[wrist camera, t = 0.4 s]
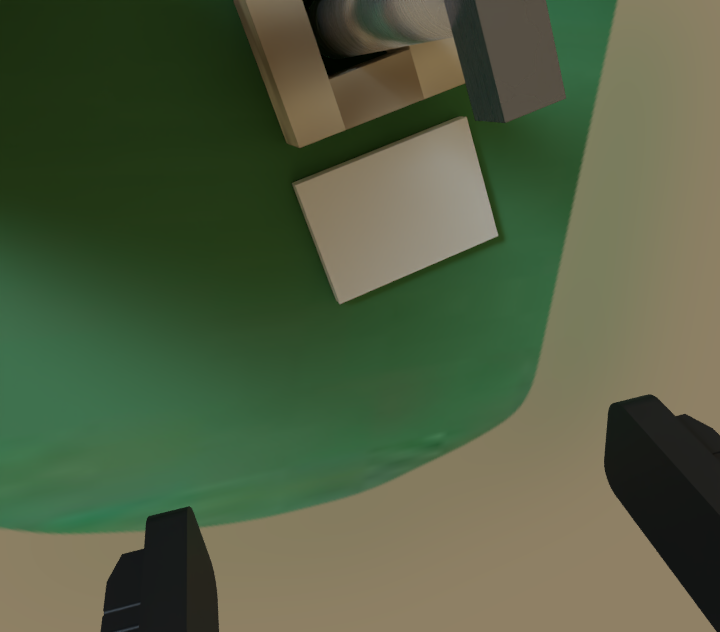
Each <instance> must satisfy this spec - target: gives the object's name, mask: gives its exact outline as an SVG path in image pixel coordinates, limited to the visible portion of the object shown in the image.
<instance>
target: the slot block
mask: <svg viewBox="0 0 720 632" xmlns="http://www.w3.org/2000/svg"><path fill="white" fill-rule="evenodd" d="M233 1H234V4H235V6H236V9H237V12H238V14H239V17H240V20H241V22H242V25H243V28H244V30H245V33H246V36H247V38H248V41H249V44H250V46H251V49H252V52H253V54H254V57H255V60H256V62H257V65H258V68H259V70H260V73H261V76H262V79H263V81H264V84H265V87H266V89H267V92H268V95H269V97H270V100H271V103H272V105H273V108H274V111H275V113H276V116H277V119H278V121H279V124H280V127H281V129H282V132H283V135H284V137H285V140H286V143H287V144H290V145H293V146H295V147H298V148H301V147H304V146H306V145H309V144H311V143H314V142H316V141H319V140H322V139H324V138H327V137H329V136H332V135H334V134H337V133H339V132H342V131H344V130H347V129H350V128H352V127H355V126H357V125H360V124H362V123H365V122H367V121H370V120H373V119H375V118H378V117H380V116H383V115H385V114H388V113H390V112H393V111H396V110H398V109H401V108H403V107H406V106H408V105H411V104H413V103H416V102H418V101H421V100H424V99H426V98H429V97H431V96H434V95H436V94H439V93H441V92H444V91H447V90H449V89H452V88H454V87H457V86H459V85H462V84H464V83H465V80H464V76H463V72H462V68H461V64H460V61H459V57H458V53H457V49H456V45H455V42H454V38H453V37H451V38H446V39H441V40H435V41H430V42H425V43H420V44H415V45H410V46H405V47H399V48H394V49H389V50H386V51H387V53H386V54H384V55H381V56H378V57H376V58H373V59H370V60H368V61H365V62H362V63H360V64H357V65H355V66H352V67H349V68H347V69H344V70H341V71H339V72H336V73H333V74H331V75H327V72H326V69H325V67H324V64H323V61H322V58H321V55H320V52H319V49H318V46H317V43H316V40H315V37H314V34H313V31H312V28H311V25H310V22H309V19H308V16H307V13H306V10H305V7H304V4H303V1H302V0H233Z"/></svg>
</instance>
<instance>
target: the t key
mask: <svg viewBox="0 0 720 632" xmlns="http://www.w3.org/2000/svg"><path fill="white" fill-rule="evenodd" d="M307 16H308V19H309V22H310V25H311V28H312V31H313V34H314V37H315V40H316V43H317V46H318V49H319V52H320V53H321V54H322V55H324V56H326V57H329V58H332V59H343V58H348V57H353V56H358V55H363V54H369V53H374V52H379V51H384V50H389V49H394V48H399V47H405V46H410V45H415V44H420V43H425V42H430V41H435V40H441V39H446V38H451V37H453V38H454V42H455V45H456V49H457V53H458V57H459V61H460V64H461V68H462V72H463V76H464V80H465V83H466V87H467V91H468V95H469V99H470V102H471V106H472V110H473V114H474V118H475V120H476V121H488V122H501V123H506V122H509V121H511V120H514V119H516V118H519V117H521V116H523V115H526V114H528V113H531V112H533V111H536V110H538V109H541V108H543V107H546V106H548V105H551V104H553V103H556V102H558V101H560V100H563V99H565V98H566V95H565V90H564V86H563V81H562V76H561V71H560V67H559V62H558V57H557V52H556V47H555V43H554V38H553V33H552V28H551V24H550V19H549V14H548V9H547V4H546V0H314V1H313V2H312V4H311V5H310V7H309V9H308V12H307Z"/></svg>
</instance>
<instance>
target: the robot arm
mask: <svg viewBox="0 0 720 632" xmlns="http://www.w3.org/2000/svg"><path fill="white" fill-rule="evenodd" d="M604 467H605V472H606V476H607V479H608V482H609V485H610V487H611V489H612V490H613V492H614V494H615V495H616V497H617V498H618V499H619V501H620V502H621V503H622V505H623V506H624V507H625V509H626V510H627V511H628V513H629V514H630V515H631V517H632V518H633V520H634V521H635V522H636V524H637V525H638V526H639V528H640V529H641V530H642V532H643V533H644V534H645V536H646V537H647V538H648V540H649V541H650V542H651V544H652V545H653V546H654V548H655V549H656V550H657V552H658V553H659V555H660V556H661V557H662V558H663V560H664V561H665V562H666V564H667V565H668V567H669V568H670V569H671V570H672V572H673V573H674V575H675V576H676V577H677V578H678V580H679V581H680V583H681V584H682V585H683V587H684V588H685V589H686V591H687V592H688V594H689V595H690V596H691V597H692V599H693V600H694V602H695V603H696V604H697V606H698V607H699V608H700V610H701V611H702V613H703V614H704V615H705V617H706V618H707V619H708V620H709V622H710V623H711V625H712V626H713V627H714V629H715V630H716V631H717V632H720V435H719V434H718V433H717V432H716V431H715V430H713V428H711V427H709V426H707V425H705V424H703V423H701V422H699V421H697V420H696V419H693V418H692V417H690V416H688V415H686V414H683V415H679V416H675V415H673V413H672V412H671V411H670V410H669V409H668V408H667V407H666V406H665V405H664V404H663V403H662V402H661V401H660V400H659V399H658V398H657V397H655V396H653V395H644V396H640V397H637V398H632V399H629V400H625V401H620V402H616V403H613V404H611V405H610V407H609V411H608V421H607V433H606V445H605V457H604ZM103 611H104V616H103V617H102V625H101V632H219V623H218V599H217V588H216V581H215V576H214V571H213V567H212V563H211V560H210V557H209V554H208V551H207V549H206V546H205V543H204V540H203V537H202V535H201V532H200V529H199V526H198V523H197V521H196V518H195V515H194V512H193V510H192V508H191V507H190V506H189V507H185V508H180V509H176V510H172V511H168V512H164V513H160V514H156V515H152V516H149V517H148V518H147V521H146V531H145V545H144V549H141V550H137V551H133V552H129V553H125V554H122V555H121V557H120V559H119V561H118V563H117V564H116V566H115V568H114V570H113V572H112V574H111V575H110V577H109V579H108V581H107V585H106V593H105V601H104V609H103Z"/></svg>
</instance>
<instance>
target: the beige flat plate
mask: <svg viewBox="0 0 720 632" xmlns="http://www.w3.org/2000/svg"><path fill="white" fill-rule="evenodd" d="M292 186H293V188H294V191H295V194H296V196H297V199H298V201H299V204H300V207H301V209H302V212H303V215H304V217H305V220H306V223H307V225H308V228H309V230H310V233H311V236H312V238H313V241H314V244H315V246H316V249H317V252H318V254H319V257H320V259H321V262H322V265H323V267H324V270H325V273H326V275H327V278H328V281H329V283H330V286H331V288H332V291H333V294H334V296H335V299H336V300H337V301H338V303H339V304H342V303H344V302H346V301H349V300H351V299H353V298H356V297H358V296H360V295H363V294H365V293H367V292H369V291H372V290H374V289H376V288H379V287H381V286H383V285H386V284H388V283H390V282H393V281H395V280H397V279H400V278H402V277H404V276H407V275H409V274H411V273H414V272H416V271H418V270H420V269H423V268H425V267H427V266H430V265H432V264H434V263H437V262H439V261H441V260H444V259H446V258H448V257H451V256H453V255H455V254H458V253H460V252H462V251H465V250H467V249H469V248H471V247H474V246H476V245H478V244H481V243H483V242H485V241H488V240H490V239H492V238H495V237H497V236H498V233H497V229H496V225H495V222H494V218H493V214H492V210H491V207H490V203H489V199H488V195H487V192H486V188H485V184H484V180H483V177H482V173H481V169H480V165H479V162H478V158H477V154H476V150H475V147H474V143H473V139H472V135H471V132H470V128H469V124H468V120H467V117H462V116H458V117H456V118H453V119H451V120H448V121H446V122H443V123H441V124H438V125H436V126H433V127H431V128H428V129H426V130H423V131H421V132H418V133H416V134H413V135H411V136H408V137H406V138H403V139H401V140H398V141H396V142H393V143H391V144H388V145H386V146H383V147H381V148H378V149H376V150H373V151H371V152H368V153H366V154H363V155H361V156H358V157H356V158H353V159H351V160H348V161H346V162H343V163H341V164H338V165H336V166H333V167H331V168H328V169H326V170H323V171H321V172H318V173H316V174H313V175H311V176H308V177H306V178H303V179H301V180H298V181H296V182H293V183H292Z"/></svg>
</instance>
